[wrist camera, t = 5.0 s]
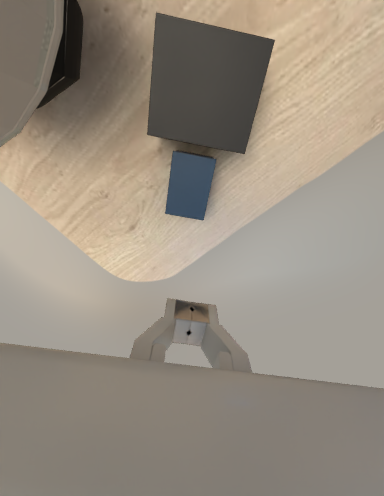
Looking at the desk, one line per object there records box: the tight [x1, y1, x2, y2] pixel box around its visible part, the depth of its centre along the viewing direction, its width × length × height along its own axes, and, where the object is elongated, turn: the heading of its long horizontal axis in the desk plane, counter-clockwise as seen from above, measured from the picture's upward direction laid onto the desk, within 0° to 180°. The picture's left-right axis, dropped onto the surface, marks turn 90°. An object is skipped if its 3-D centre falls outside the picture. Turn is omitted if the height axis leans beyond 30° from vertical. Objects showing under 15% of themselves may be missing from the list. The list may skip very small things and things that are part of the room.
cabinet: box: [147, 13, 275, 154], centre depth 28 cm, size 12×11×8 cm
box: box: [165, 150, 216, 220], centre depth 34 cm, size 6×9×6 cm
